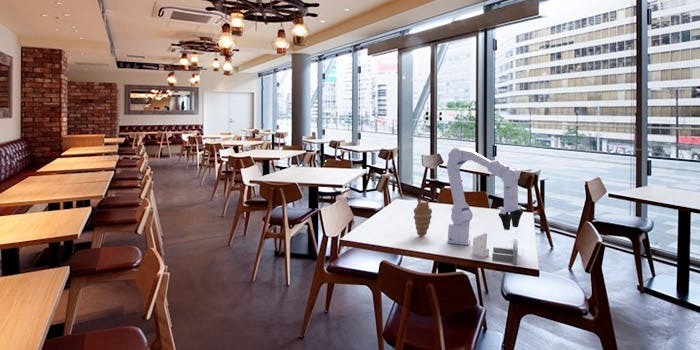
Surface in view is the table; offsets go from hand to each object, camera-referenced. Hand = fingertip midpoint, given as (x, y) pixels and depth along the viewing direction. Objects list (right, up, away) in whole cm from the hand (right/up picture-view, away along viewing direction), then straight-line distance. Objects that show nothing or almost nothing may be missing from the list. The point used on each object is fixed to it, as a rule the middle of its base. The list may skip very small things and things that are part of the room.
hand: (511, 228), depth 199 cm
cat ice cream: (-34, -7, +27) cm, 44 cm away
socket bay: (-5, -12, -4) cm, 13 cm away
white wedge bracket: (-13, -11, -1) cm, 18 cm away
